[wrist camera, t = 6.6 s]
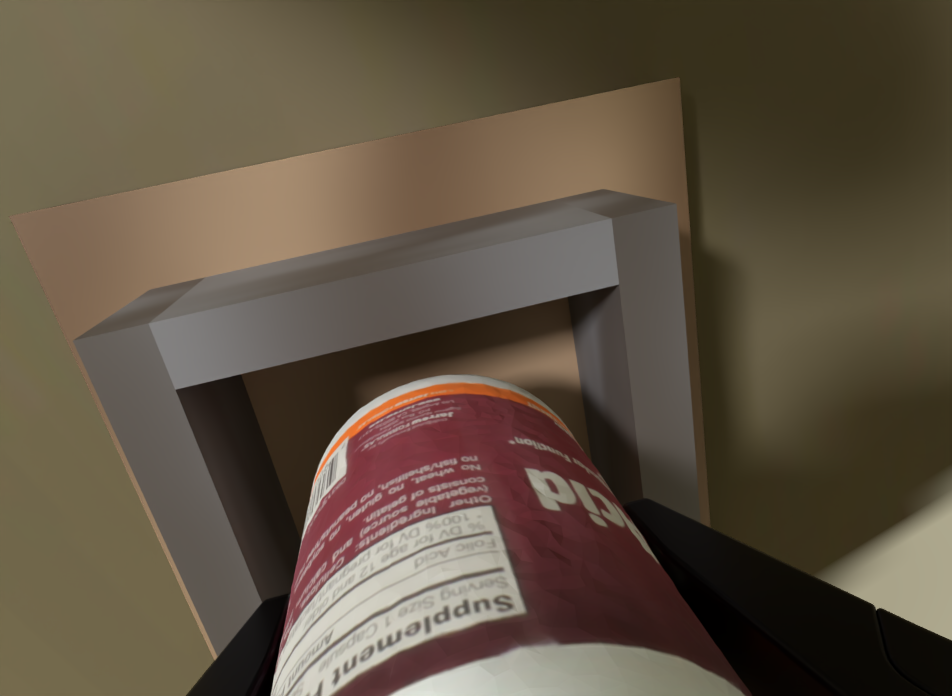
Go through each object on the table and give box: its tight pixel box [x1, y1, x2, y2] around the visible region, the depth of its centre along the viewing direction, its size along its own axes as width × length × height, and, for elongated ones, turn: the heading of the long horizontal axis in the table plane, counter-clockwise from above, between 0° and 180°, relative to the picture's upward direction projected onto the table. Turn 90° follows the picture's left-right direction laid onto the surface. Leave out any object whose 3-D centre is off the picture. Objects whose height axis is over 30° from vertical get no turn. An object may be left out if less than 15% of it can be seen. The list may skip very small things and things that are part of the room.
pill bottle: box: [271, 374, 753, 696], centre depth 7 cm, size 5×5×8 cm
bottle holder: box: [9, 77, 711, 660], centre depth 12 cm, size 12×12×4 cm
